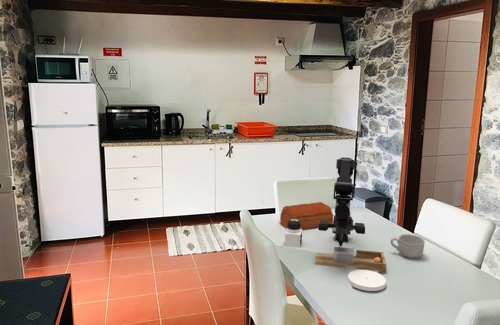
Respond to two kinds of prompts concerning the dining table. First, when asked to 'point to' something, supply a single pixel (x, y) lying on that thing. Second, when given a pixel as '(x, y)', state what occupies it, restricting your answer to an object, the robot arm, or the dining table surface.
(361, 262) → the serving board
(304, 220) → the bread
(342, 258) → the brushed metal u-channel
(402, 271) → the dining table surface
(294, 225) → the medicine bottle
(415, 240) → the teacup
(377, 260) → the ball
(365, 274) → the plastic lid
